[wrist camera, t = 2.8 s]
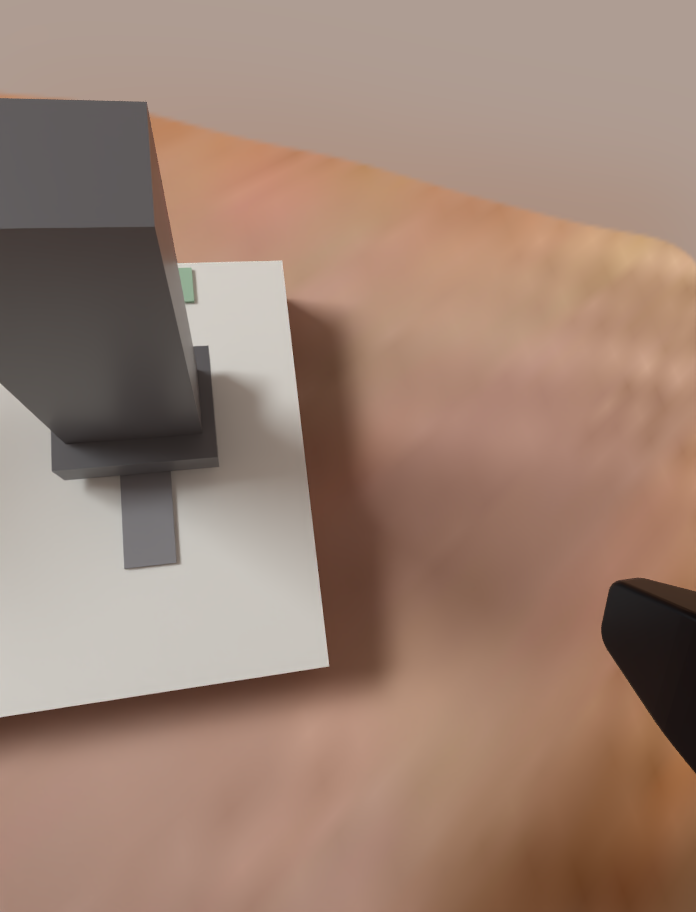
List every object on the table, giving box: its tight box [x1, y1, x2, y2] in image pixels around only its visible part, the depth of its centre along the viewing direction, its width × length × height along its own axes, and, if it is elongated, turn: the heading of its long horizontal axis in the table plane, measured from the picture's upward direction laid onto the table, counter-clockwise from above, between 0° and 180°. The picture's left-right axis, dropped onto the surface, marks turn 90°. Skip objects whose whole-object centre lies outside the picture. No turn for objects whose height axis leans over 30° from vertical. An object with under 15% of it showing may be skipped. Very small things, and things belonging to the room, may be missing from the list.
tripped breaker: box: [0, 98, 219, 480], centre depth 11 cm, size 3×4×9 cm
